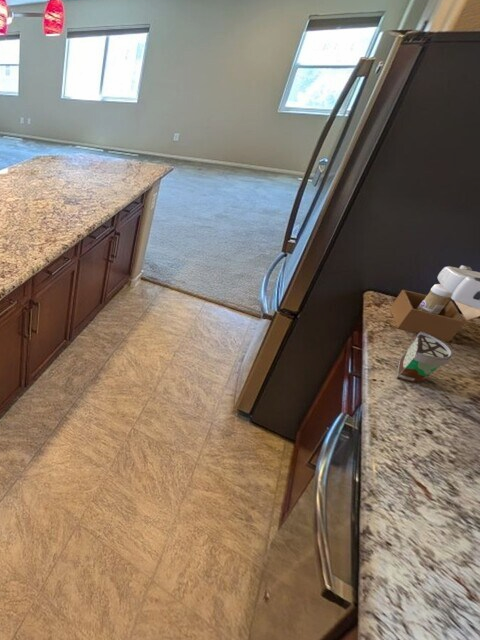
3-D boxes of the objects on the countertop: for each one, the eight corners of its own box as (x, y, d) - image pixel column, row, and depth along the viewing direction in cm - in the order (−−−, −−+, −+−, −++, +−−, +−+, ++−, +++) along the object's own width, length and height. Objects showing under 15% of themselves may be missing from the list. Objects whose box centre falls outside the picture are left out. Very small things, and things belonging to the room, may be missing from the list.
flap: (453, 299, 117) (454, 299, 117) (466, 320, 109) (467, 321, 108) (477, 290, 113) (478, 291, 113) (493, 311, 105) (494, 312, 105)
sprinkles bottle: (404, 317, 122) (429, 282, 115) (420, 318, 121) (447, 283, 114) (416, 327, 118) (443, 291, 111) (433, 328, 117) (461, 292, 110)
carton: (437, 319, 121) (452, 301, 117) (449, 342, 113) (465, 322, 109) (389, 307, 127) (402, 289, 123) (397, 328, 118) (411, 309, 114)
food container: (429, 395, 97) (454, 367, 92) (395, 381, 101) (418, 353, 96) (431, 369, 104) (455, 342, 99) (399, 357, 108) (420, 330, 103)
